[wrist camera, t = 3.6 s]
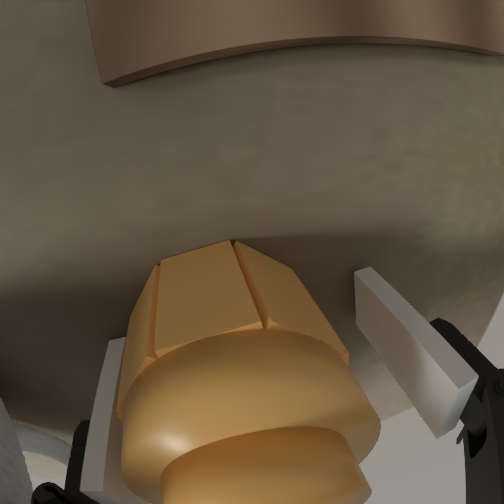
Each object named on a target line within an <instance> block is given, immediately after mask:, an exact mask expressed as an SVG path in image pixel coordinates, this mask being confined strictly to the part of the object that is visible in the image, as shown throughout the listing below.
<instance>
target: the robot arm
mask: <svg viewBox="0 0 504 504" xmlns="http://www.w3.org/2000/svg"><path fill="white" fill-rule="evenodd" d="M354 285H355V306H356V325H357V326H358V328H359V329H360V331H361V332H362V333H363V335H364V336H365V337H366V339H367V340H368V341H369V343H370V344H371V346H372V347H373V348H374V350H375V351H376V352H377V354H378V355H379V357H380V358H381V359H382V361H383V362H384V364H385V365H386V366H387V368H388V369H389V371H390V372H391V373H392V375H393V376H394V378H395V379H396V381H397V382H398V383H399V385H400V386H401V388H402V389H403V391H404V392H405V393H406V395H407V396H408V398H409V399H410V401H411V402H412V403H413V405H414V406H415V408H416V409H417V411H418V412H419V414H420V415H421V417H422V418H423V420H424V421H425V422H426V424H427V425H428V427H429V428H430V430H431V431H432V433H433V434H434V436H435V437H436V439H437V438H439V437H441V436H443V435H444V434H446V433H448V432H449V431H451V430H452V429H454V428H455V426H456V425H457V423H458V421H459V419H461V421H462V422H463V424H464V427H463V429H462V431H461V432H460V434H459V436H458V438H457V443H456V444H459V443H460V442H461V440H462V438H463V442H464V455H465V470H466V471H465V472H466V504H504V369H497V368H496V367H495V366H493V364H492V363H491V362H490V361H489V360H488V359H487V358H486V357H485V356H484V355H483V354H482V353H481V352H480V351H479V350H478V349H477V348H476V347H475V346H474V345H473V344H472V343H471V342H470V341H468V339H467V338H466V337H465V336H464V335H463V334H461V332H460V331H459V330H458V329H457V328H456V327H455V326H454V325H453V324H451V323H449V322H447V321H445V320H443V319H441V318H437V319H435V320H433V321H431V322H429V323H428V322H427V321H426V320H425V319H424V318H423V317H422V316H421V315H420V314H419V313H418V312H417V311H416V310H415V309H414V308H413V307H412V306H411V305H410V304H409V303H408V302H407V301H406V300H405V299H404V298H403V297H402V296H401V295H400V294H399V293H398V292H397V291H396V290H395V289H394V288H393V287H392V286H391V285H390V284H389V283H388V282H386V281H385V280H384V279H383V278H382V277H381V276H380V275H379V274H378V273H377V272H376V271H375V270H374V269H373V268H372V267H367V268H364V269H361V270H358V271H355V272H354ZM125 343H126V337H123V338H118V339H114V340H110V341H109V344H108V347H107V351H106V355H105V359H104V363H103V367H102V371H101V375H100V379H99V384H98V388H97V392H96V397H95V401H94V406H93V411H92V416H91V420H84V421H81V422H80V424H79V425H78V427H77V429H76V431H75V432H74V437H73V442H72V446H73V447H71V452H70V455H71V457H69V463H68V469H67V475H66V481H65V489H64V490H63V489H62V488H60V487H59V486H57V485H56V484H55V483H50V482H46V483H42V484H41V485H39V486H38V487H37V488H36V489H35V490H34V492H33V494H32V497H31V504H151V503H149V502H147V501H145V500H143V499H142V498H140V497H138V496H137V495H136V494H134V493H133V492H132V491H131V490H130V489H129V488H128V487H127V486H126V484H125V483H124V481H123V479H122V475H121V451H122V432H123V422H122V421H121V420H120V419H119V418H118V412H117V404H118V395H119V386H120V378H121V371H122V364H123V357H124V350H125Z"/></svg>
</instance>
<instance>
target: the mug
mask: <svg viewBox="0 0 504 504" xmlns="http://www.w3.org/2000/svg"><path fill="white" fill-rule="evenodd" d="M71 447H73V446H72V445H71V444H69V443H67V442H65V441H63V440H61V439H59V438H57V437H54V436H52V435H49V434H47V433H45V432H42V431H39V430H36V429H33V428H30V427H27V426H24V425H21V424H17V423H14V422H13V421H12V420H11V419H10V417H9V415H8V413H7V411H6V408H5V406H4V403H3V401H2V399H1V397H0V504H31V497H32V494H33V489H32V482H31V480H30V477H29V473H28V471H27V465H26V463H25V457H24V455H23V453H22V451H29V452H34V453H38V454H41V455H44V456H47V457H50V458H53V459H55V460H57V461H59V462H61V463H63V464H65V465H67V466H68V463H69V457H71V455H70V452H71Z"/></svg>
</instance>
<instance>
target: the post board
mask: <svg viewBox="0 0 504 504" xmlns="http://www.w3.org/2000/svg"><path fill="white" fill-rule="evenodd" d="M86 6H87V12H88V18H89V24H90V29H91V35H92V40H93V45H94V50H95V55H96V59H97V64H98V69H99V73H100V77H101V82H102V84H104V85H107V86H110V87H112V88H116V87H118V86H121V85H124V84H127V83H130V82H133V81H136V80H139V79H142V78H145V77H148V76H151V75H155V74H158V73H161V72H165V71H168V70H172V69H176V68H179V67H183V66H187V65H191V64H195V63H199V62H204V61H208V60H213V59H217V58H222V57H227V56H233V55H238V54H244V53H250V52H256V51H263V50H270V49H278V48H286V47H296V46H307V45H320V44H341V43H388V44H408V45H421V46H432V47H441V48H449V49H456V50H463V51H469V52H474V53H480V54H485V55H496V56H504V14H503V10H502V6H501V3H500V0H86Z"/></svg>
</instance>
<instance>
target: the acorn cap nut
mask: <svg viewBox="0 0 504 504" xmlns="http://www.w3.org/2000/svg"><path fill="white" fill-rule="evenodd" d="M117 412H118V418H119V419H120V420H121V421H122V422H123V432H122V451H121V475H122V479H123V481H124V483H125V484H126V486H127V487H128V488H129V489H130V490H131V491H132V492H133V493H134V494H136V495H137V496H138V497H140V498H142V499H143V500H145V501H147V502H149V503H152V504H363V503H365V502H366V501H367V499H368V498H369V497H370V495H371V492H372V490H371V488H370V486H369V484H368V482H367V481H366V478H365V476H364V474H363V472H362V470H361V468H360V466H359V464H360V463H361V462H362V461H363V460H364V459H365V457H366V456H367V455H368V454H369V453H370V451H371V450H372V449H373V447H374V445H375V444H376V442H377V440H378V437H379V434H380V429H381V424H380V419H379V417H378V415H377V413H376V412H375V410H374V409H373V407H372V405H371V404H370V402H369V400H368V399H367V397H366V396H365V394H364V392H363V391H362V389H361V388H360V386H359V384H358V383H357V381H356V379H355V378H354V376H353V375H352V373H351V371H350V370H349V352H348V351H347V349H346V348H345V346H344V345H343V343H342V342H341V340H340V339H339V337H338V336H337V334H336V333H335V331H334V330H333V328H332V327H331V325H330V324H329V322H328V321H327V319H326V318H325V316H324V315H323V313H322V312H321V310H320V309H319V307H318V306H317V304H316V303H315V301H314V300H313V299H312V297H311V296H310V294H309V293H308V291H307V290H306V288H305V287H304V285H303V284H302V282H301V281H300V279H299V278H298V277H297V275H296V274H295V272H294V271H293V270H292V269H291V268H290V267H288V266H286V265H284V264H282V263H280V262H278V261H276V260H274V259H272V258H270V257H268V256H266V255H264V254H262V253H260V252H258V251H256V250H254V249H252V248H250V247H248V246H246V245H244V244H243V243H241V242H239V241H237V240H236V242H235V243H234V245H233V246H232V245H231V242H230V240H227V241H223V242H220V243H217V244H213V245H210V246H206V247H203V248H199V249H196V250H193V251H189V252H186V253H183V254H179V255H176V256H172V257H169V258H166V259H162V260H161V264H160V266H159V265H157V264H156V265H155V267H154V269H153V271H152V273H151V275H150V276H149V278H148V280H147V282H146V284H145V286H144V288H143V290H142V292H141V294H140V296H139V299H138V301H137V303H136V305H135V307H134V309H133V311H132V313H131V315H130V320H129V325H128V331H127V337H126V343H125V350H124V357H123V364H122V371H121V378H120V386H119V395H118V404H117Z"/></svg>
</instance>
